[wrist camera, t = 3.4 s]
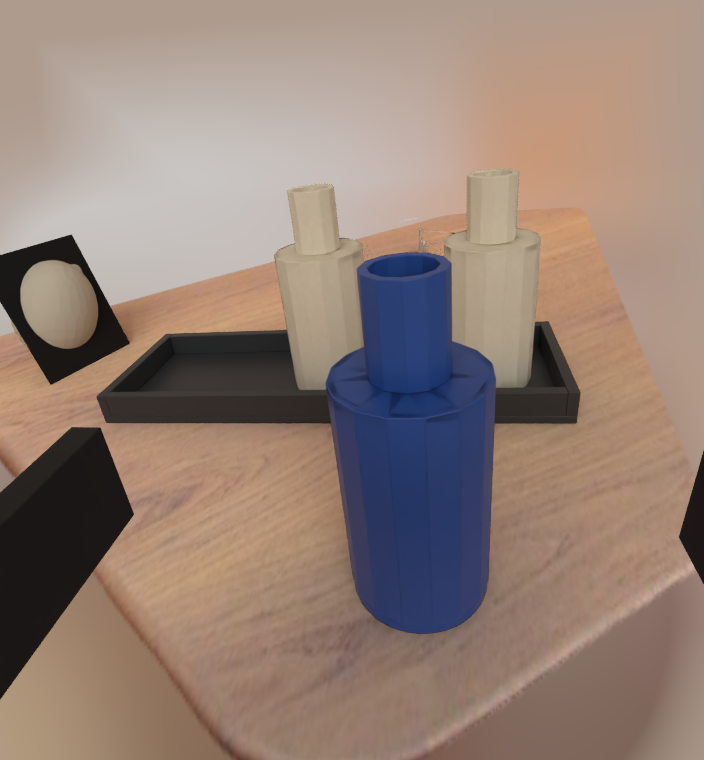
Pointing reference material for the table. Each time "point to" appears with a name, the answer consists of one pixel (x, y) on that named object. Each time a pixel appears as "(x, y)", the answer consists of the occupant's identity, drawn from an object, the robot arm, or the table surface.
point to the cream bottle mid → (319, 286)
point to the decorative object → (58, 307)
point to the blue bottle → (414, 449)
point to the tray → (290, 383)
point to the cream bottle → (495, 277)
